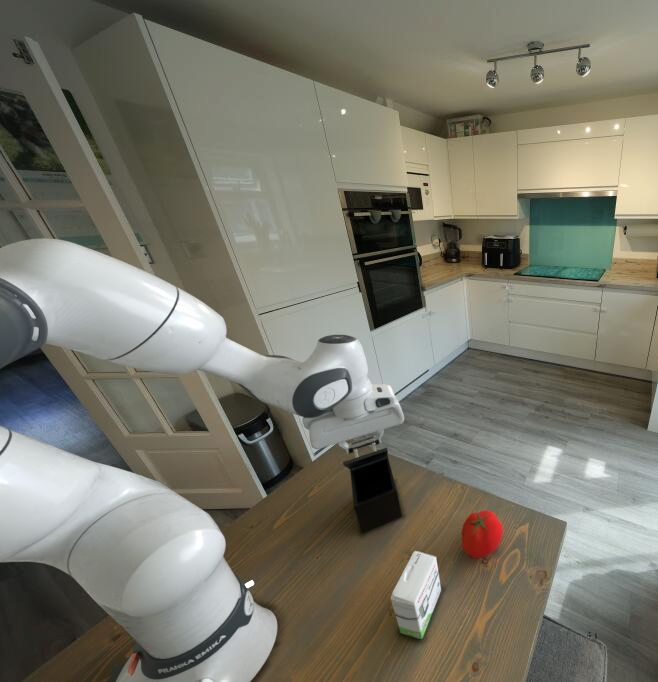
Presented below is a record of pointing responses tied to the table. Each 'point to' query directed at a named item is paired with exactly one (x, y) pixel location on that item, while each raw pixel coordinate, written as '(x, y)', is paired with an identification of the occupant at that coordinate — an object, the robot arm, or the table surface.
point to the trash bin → (374, 494)
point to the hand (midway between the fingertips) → (364, 447)
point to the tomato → (481, 534)
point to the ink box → (416, 594)
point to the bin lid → (368, 457)
